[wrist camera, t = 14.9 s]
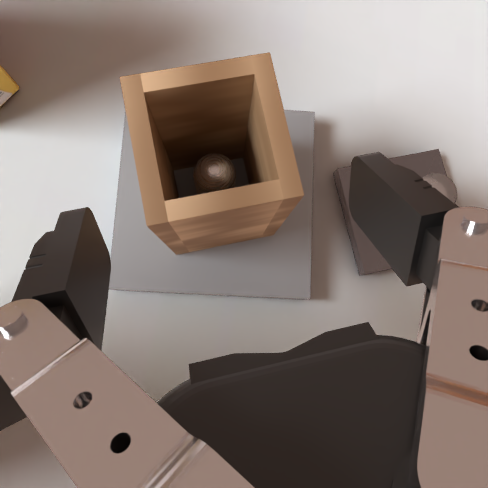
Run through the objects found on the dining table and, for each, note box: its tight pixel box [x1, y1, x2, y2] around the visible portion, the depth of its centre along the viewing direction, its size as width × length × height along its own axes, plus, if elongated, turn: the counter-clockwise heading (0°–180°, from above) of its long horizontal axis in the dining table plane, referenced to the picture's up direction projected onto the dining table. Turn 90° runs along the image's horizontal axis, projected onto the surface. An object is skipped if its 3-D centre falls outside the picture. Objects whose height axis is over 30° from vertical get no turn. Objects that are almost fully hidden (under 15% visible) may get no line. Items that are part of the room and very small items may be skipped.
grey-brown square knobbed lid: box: [333, 149, 457, 275], centre depth 23 cm, size 7×7×5 cm
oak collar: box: [120, 53, 304, 255], centre depth 19 cm, size 6×6×9 cm
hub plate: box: [109, 110, 315, 299], centre depth 22 cm, size 12×12×7 cm
